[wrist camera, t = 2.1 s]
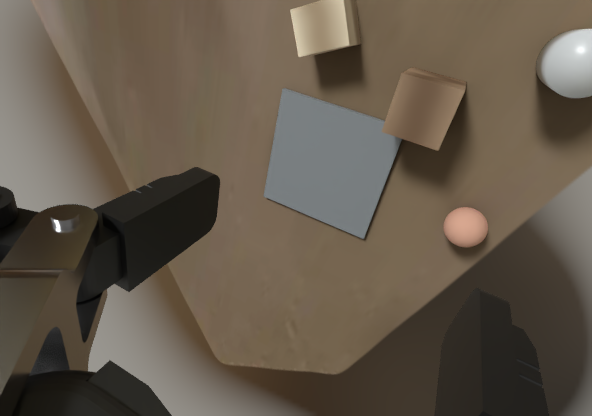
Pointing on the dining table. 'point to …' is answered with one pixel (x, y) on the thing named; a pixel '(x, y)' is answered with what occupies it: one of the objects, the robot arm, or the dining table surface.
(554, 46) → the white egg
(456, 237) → the terracotta ball
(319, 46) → the beech block
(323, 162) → the mat
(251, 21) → the dining table surface
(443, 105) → the walnut block
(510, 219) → the dining table surface
